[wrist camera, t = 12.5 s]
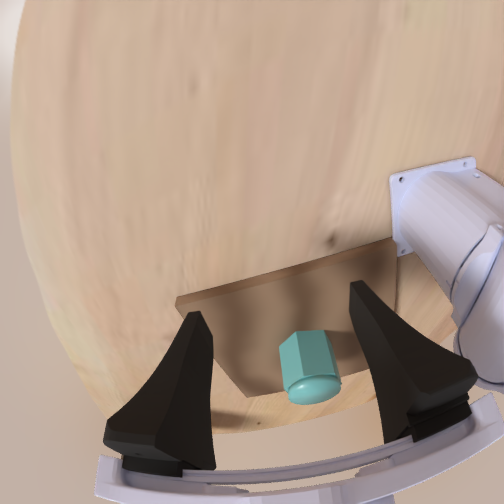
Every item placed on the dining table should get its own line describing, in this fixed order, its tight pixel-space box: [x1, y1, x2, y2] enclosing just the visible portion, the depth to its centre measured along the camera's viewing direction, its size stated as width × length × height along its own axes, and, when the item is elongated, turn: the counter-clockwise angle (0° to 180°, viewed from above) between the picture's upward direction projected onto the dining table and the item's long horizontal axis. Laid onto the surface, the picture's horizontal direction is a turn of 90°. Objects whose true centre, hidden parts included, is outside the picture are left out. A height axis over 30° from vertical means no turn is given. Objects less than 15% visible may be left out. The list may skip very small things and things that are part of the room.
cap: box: [279, 330, 342, 405], centre depth 26 cm, size 5×6×6 cm
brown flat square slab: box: [175, 237, 397, 398], centre depth 29 cm, size 20×20×1 cm
